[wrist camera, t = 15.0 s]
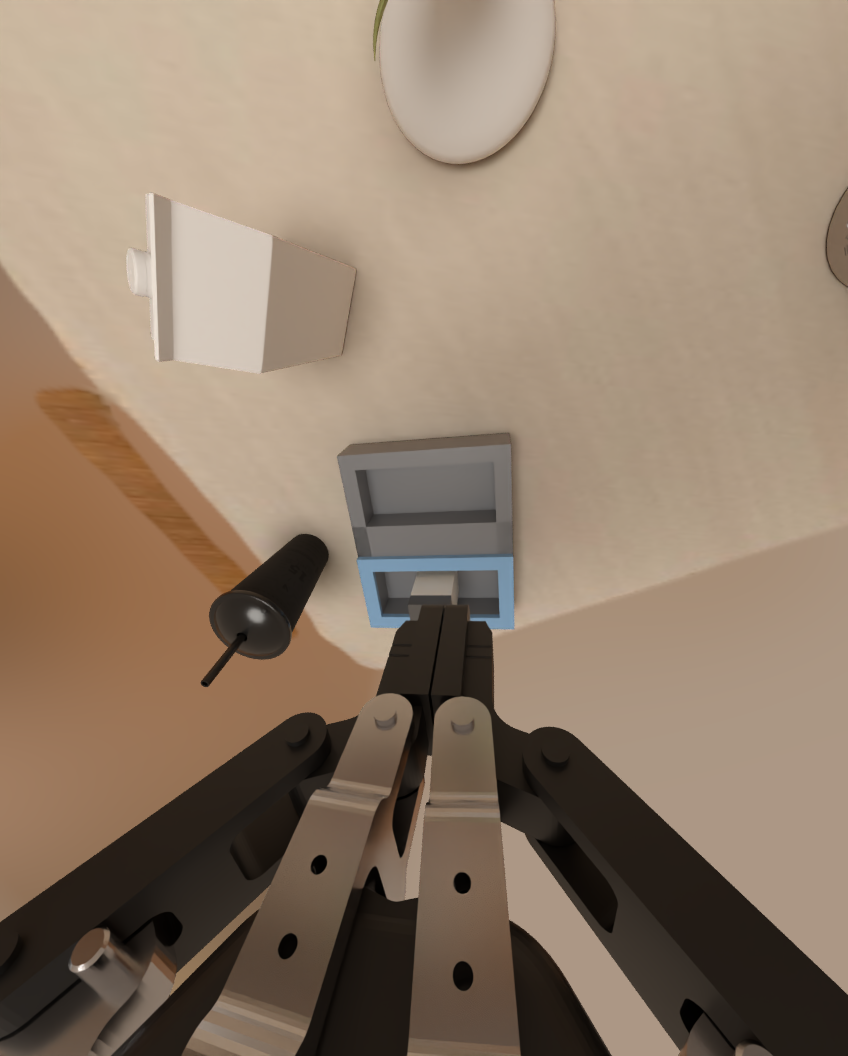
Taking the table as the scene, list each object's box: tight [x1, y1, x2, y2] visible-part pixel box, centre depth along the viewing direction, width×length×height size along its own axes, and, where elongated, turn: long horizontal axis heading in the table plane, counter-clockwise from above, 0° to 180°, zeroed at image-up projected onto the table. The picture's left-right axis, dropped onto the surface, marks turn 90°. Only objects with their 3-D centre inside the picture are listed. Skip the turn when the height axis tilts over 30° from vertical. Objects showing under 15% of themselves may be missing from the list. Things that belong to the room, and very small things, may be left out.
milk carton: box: [126, 192, 356, 374], centre depth 28 cm, size 7×7×19 cm
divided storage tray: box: [337, 433, 514, 629], centre depth 42 cm, size 16×20×5 cm
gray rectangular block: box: [408, 571, 459, 621], centre depth 42 cm, size 4×4×8 cm
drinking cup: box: [201, 534, 328, 687], centre depth 39 cm, size 8×8×20 cm
